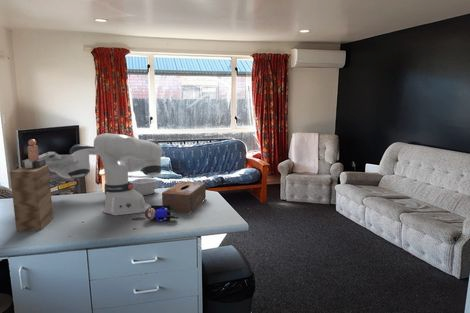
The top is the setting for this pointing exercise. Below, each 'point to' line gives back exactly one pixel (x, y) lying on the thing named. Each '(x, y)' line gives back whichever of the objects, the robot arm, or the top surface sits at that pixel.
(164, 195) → the tissue box cover
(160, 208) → the character figurine
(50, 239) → the top surface
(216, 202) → the top surface
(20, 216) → the stand
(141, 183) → the paper bowls
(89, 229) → the top surface
